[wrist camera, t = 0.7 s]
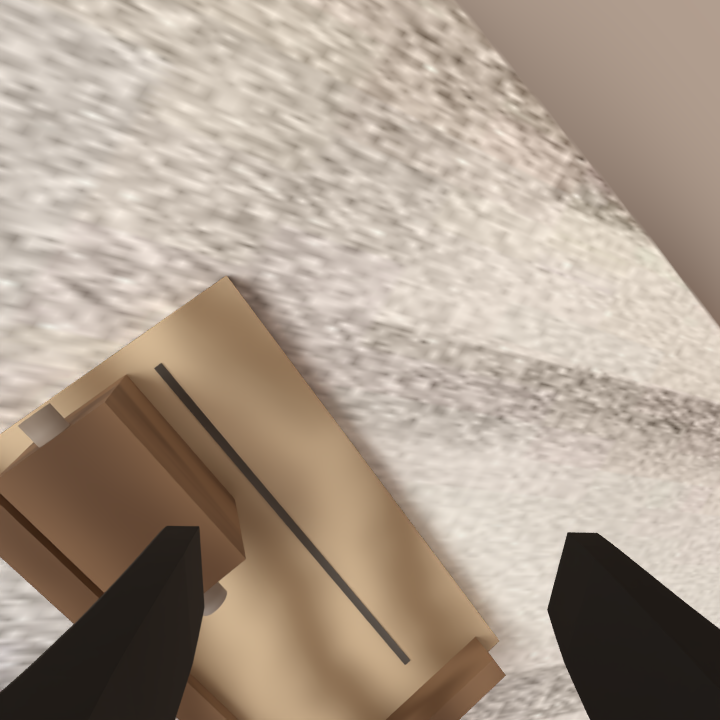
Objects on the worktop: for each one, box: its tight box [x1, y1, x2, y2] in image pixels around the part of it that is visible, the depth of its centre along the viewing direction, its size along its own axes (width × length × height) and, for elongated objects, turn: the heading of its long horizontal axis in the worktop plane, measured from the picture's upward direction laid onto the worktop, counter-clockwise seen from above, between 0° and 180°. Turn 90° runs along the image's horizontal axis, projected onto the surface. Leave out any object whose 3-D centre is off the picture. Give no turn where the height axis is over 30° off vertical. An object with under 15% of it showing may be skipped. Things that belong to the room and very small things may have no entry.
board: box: [0, 276, 506, 720], centre depth 27 cm, size 15×27×3 cm, turn 35°
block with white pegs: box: [0, 374, 246, 616], centre depth 22 cm, size 4×10×6 cm, turn 35°
